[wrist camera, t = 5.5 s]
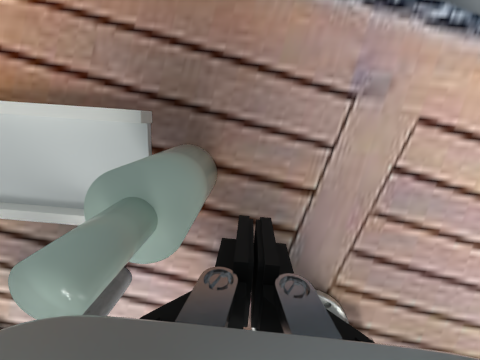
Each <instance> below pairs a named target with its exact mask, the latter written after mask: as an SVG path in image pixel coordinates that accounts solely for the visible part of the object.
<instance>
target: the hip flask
mask: <svg viewBox="0 0 480 360" xmlns="http://www.w3.org/2000/svg"><path fill="white" fill-rule="evenodd" d="M131 281H132V275H131V273H130V272H129V270H127V269H126V268H124V267H123V269H122V270H121V271H120V272H119V273H118V274H117V275H116V277H115V278H114V279H113V280H112V281H111V282H110V284H109V285H108V286H107V287H106V288H105V289H104V290H103V292H102V293H101V294H100V295H99V296H98V297H97V299H96V300H95V301H94V302H93V303H92V304H91V305H90V307H89V308H88V309H87V310H86V311H85V312H84V314H83V315H94V316H107V315H108V314H109V313H110V311H111V310H112V308H113V307H114V306H115V304H116V303H117V302H118V300H119V299H120V298H121V296H122V295H123V294H124V292H125V291H126V289H127V288H128V286H129V284H130V283H131Z"/></svg>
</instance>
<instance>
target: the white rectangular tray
mask: <svg viewBox="0 0 480 360" xmlns="http://www.w3.org/2000/svg"><path fill="white" fill-rule="evenodd" d="M151 123H152V111H142V110H127V109H113V108H98V107H84V106H69V105H55V104H40V103H26V102H11V101H0V219H10V220H22V221H33V222H45V223H56V224H68V225H81V224H82V223H84V222H86V220H85V216H84V201H85V196H86V194H87V191H88V189H89V187H90V186H91V184H92V183H93V182H94V181H95V180H96V179H97V178H98V177H99V176H100V175H102V174H103V173H105V172H107V171H110V170H112V169H115V168H118V167H120V166H123V165H126V164H129V163H132V162H134V161H137V160H140V159H143V158H145V157H148V156H151V155H152V145H151Z"/></svg>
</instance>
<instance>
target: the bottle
mask: <svg viewBox="0 0 480 360" xmlns="http://www.w3.org/2000/svg"><path fill="white" fill-rule="evenodd" d="M216 179H217V168H216V165H215V162H214V160H213V158H212V157H211V156H210V154H209V153H208V152H206V151H205V150H204V149H202V148H200V147H198V146H195V145H190V144H184V145H179V146H176V147H173V148H171V149H168V150H165V151H162V152H159V153H157V154H154V155H151V156H148V157H145V158H143V159H140V160H137V161H134V162H132V163H129V164H126V165H123V166H120V167H118V168H115V169H112V170H110V171H107V172H105V173H103V174H102V175H100V176H99V177H98V178H97V179H96V180H95V181H94V182H93V183H92V184H91V186H90V187H89V189H88V191H87V194H86V196H85V201H84V216H85V220H86V222H84V223H82V224H81V225H79V226H78V227H76V228H74V229H73V230H71V231H69V232H68V233H66V234H65V235H63V236H61V237H60V238H58V239H56V240H55V241H53V242H52V243H50V244H48V245H47V246H45V247H43V248H42V249H40V250H39V251H37V252H35V253H34V254H32V255H30V256H29V257H27V258H26V259H24V260H22V261H21V262H19V263H18V264H16V265H15V266H14V267H13V269H12V270H11V272H10V274H9V279H8V285H9V290H10V293H11V295H12V297H13V299H14V301H15V302H16V303H17V305H18V306H19V307H20V308H21V309H22V310H23V311H24V312H26V313H27V314H28V315H30V316H31V317H33V318H35V319H37V320H38V319H43V318H49V317H58V316H67V315H83V314H84V312H85V311H86V310H87V309H88V308H89V307H90V305H91V304H92V303H93V302H94V301H95V300H96V299H97V297H98V296H99V295H100V294H101V293H102V292H103V290H104V289H105V288H106V287H107V286H108V285H109V284H110V282H111V281H112V280H113V279H114V278H115V277H116V275H117V274H118V273H119V272H120V271H121V270H122V269H123V267H124V266H125V265H126V264H127V263H128V262H132V263H138V264H148V263H154V262H158V261H161V260H163V259H165V258H167V257H169V256H170V255H172V254H173V253H174V252H175V251H176V250H177V249H178V248H179V246H180V245H181V243H182V242H183V240H184V238H185V236H186V235H187V233H188V231H189V229H190V228H191V226H192V224H193V222H194V220H195V219H196V217H197V215H198V213H199V212H200V210H201V208H202V206H203V205H204V203H205V201H206V199H207V198H208V196H209V194H210V192H211V190H212V189H213V187H214V185H215V183H216Z"/></svg>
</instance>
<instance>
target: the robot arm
mask: <svg viewBox="0 0 480 360" xmlns="http://www.w3.org/2000/svg"><path fill="white" fill-rule="evenodd" d="M250 297H251V330H245V329H243V327H247V325H248V316H249V307H250ZM0 360H480V359H478V358H473V357H469V356H464V355H460V354H455V353H449V352H442V351H435V350H428V349H421V348H414V347H405V346H395V345H386V344H377V343H374V342H373V340H372V338H368V337H366V336H365V335H364V334H362V333H361V332H359V331H358V330H356V329H355V328H354V327H352V326H351V325H349V323H348V319H347V317H346V315H345V312H344V311H343V309H342V307H341V306H340V304H339V303H338V302H337V301H336V300H335V299H334V298H332V297H331V296H329V295H328V294H326V293H324V292H321V291H319V290H315V289H314V287H313V286H312V284H311V283H310V282H309V281H308V280H307V279H305V278H304V277H302V276H300V275H296V274H294V272H293V269H292V265H291V261H290V258H289V254H288V250H287V247H286V244H282V243H276V242H275V237H274V232H273V226H272V221H271V218H264V217H260V220H256V227H255V236H253V219H249V216H242V215H239V222H238V230H237V238H236V239H228V238H222V241H221V245H220V249H219V253H218V257H217V261H216V265H215V267H212V268H209V269H207V270H205V271H204V272H203V273H202V274H201V276H200V277H199V279H198V281H197V283H196V285H195V286H194V288H193V290H192V291H190V292H188V293H187V294H185V295H183V296H181V297H179V298H177V299H175V300H173V301H171V302H169V303H167V304H165V305H164V306H162V307H160V308H158V309H156V310H154V311H152V312H150V313H148V314H146V315H144V316H143V317H141V318H140V319H135V318H125V317H110V316H94V315H67V316H58V317H49V318H43V319H38V320H34V321H29V322H24V323H20V324H17V325H14V326H10V327H7V328H5V329H2V330H0Z"/></svg>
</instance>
